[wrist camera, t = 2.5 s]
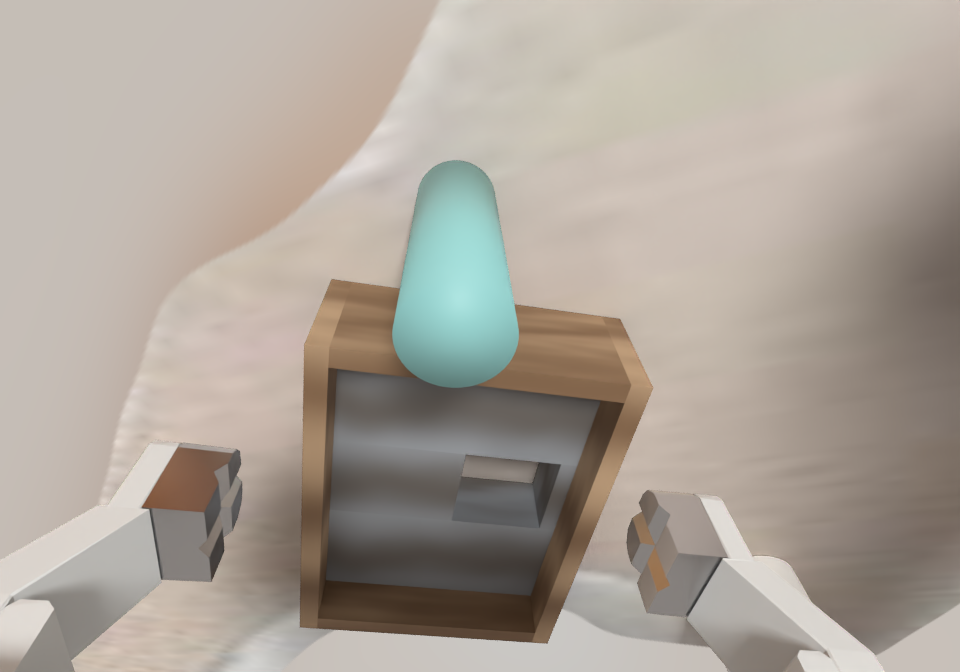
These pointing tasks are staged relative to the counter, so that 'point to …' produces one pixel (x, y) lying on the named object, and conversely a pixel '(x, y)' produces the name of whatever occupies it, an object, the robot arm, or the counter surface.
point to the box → (455, 472)
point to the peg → (455, 283)
